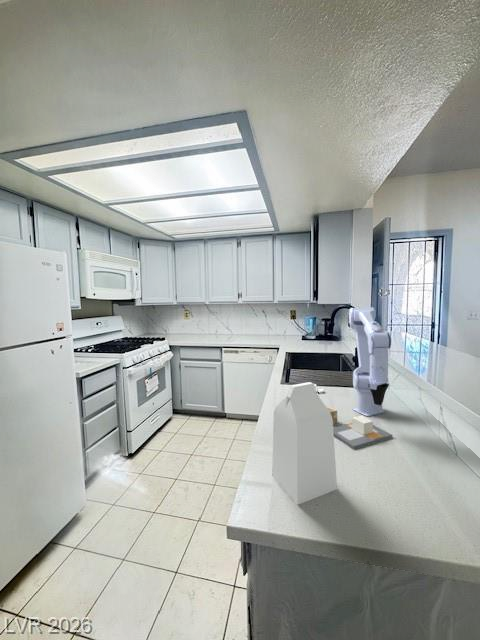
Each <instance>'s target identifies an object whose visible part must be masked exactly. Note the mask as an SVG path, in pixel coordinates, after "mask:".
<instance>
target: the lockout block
mask: <svg viewBox="0 0 480 640" xmlns="http://www.w3.org/2000/svg"><path fill="white" fill-rule="evenodd" d="M326 407H327V406H326ZM327 409H328V410H329V412H330V414H331V416H332V420H333V425H336V424H338V410H337V409H335V408H334V407H331V406H328V407H327Z"/></svg>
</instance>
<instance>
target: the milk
mask: <svg viewBox="0 0 480 640" xmlns="http://www.w3.org/2000/svg"><path fill="white" fill-rule="evenodd" d="M314 384H315V383H314V382H311V381H308V382H302V383H295V384H292V385H290V387H289V390H288V392H287V395H286V397H285V398H284V399H282V401H280V403H278V404H277V405H276V406H275V408H274V411H273V429H272V432H273V433H272V463H271V464H272V466H271V476H272V477H273V479H274V480H275V481H276V482H277V483H278V484H279V486H280V487H281V488H282V489H283V491H284V492H286V494H287V495H288V496H289V497H290V499H291V500H292V501H293V502H294V503H295V504H296V505H297V506H299V505H301V504H304V503H305V502H308V501H312V500H314V499H316V498H318V497H321V496H323V495H326V494H328V493H331V492H333V491H336V490H338V481H337V465H336V454H335V453H336V451H335V437H334V433H333V428H334V424H333V420H332V416H331V414H330V412H329V410H328V409H327V406H326V405H325V403H324V402H323V400H322V399H321V398H320V396H319V394H318V392H317V391H316V390H315V387H314Z"/></svg>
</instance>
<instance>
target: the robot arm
mask: <svg viewBox="0 0 480 640" xmlns="http://www.w3.org/2000/svg"><path fill="white" fill-rule="evenodd" d="M348 310H349V311H348V321H349V327H350V329H351V330H354V334H355V341H356V350H357V359H358V367H356V368H355V369H354V370H353V372H352V385H353V389H355V390H356V407H352V411H354V412H357V413H359V414H362V415H363V416H364V417H370V416H375V415H379V414H383V413H385V411H384V410H383V404H384V403H383V402H384V400H385V395H386V392H387V389H388V388H389V386H390V384H389V349H390V348H391V346H392V336H391V334H390V332H389V331H384V329H383V328H382V327H381V325H380V323H379V322H377V321H375V320H376V317H377V316H376V314H377V313H376V309H375V307H373V306H371V307H350V308H349V309H348Z"/></svg>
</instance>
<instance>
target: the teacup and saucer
mask: <svg viewBox="0 0 480 640" xmlns="http://www.w3.org/2000/svg"><path fill="white" fill-rule="evenodd" d="M313 384H314V387H315V390H316V389H317V384H316V383H313ZM317 391H318V392H322V393H324V392H325V389H324V388H318V389H317ZM317 391H316V392H317ZM318 392H317V393H318Z"/></svg>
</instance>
